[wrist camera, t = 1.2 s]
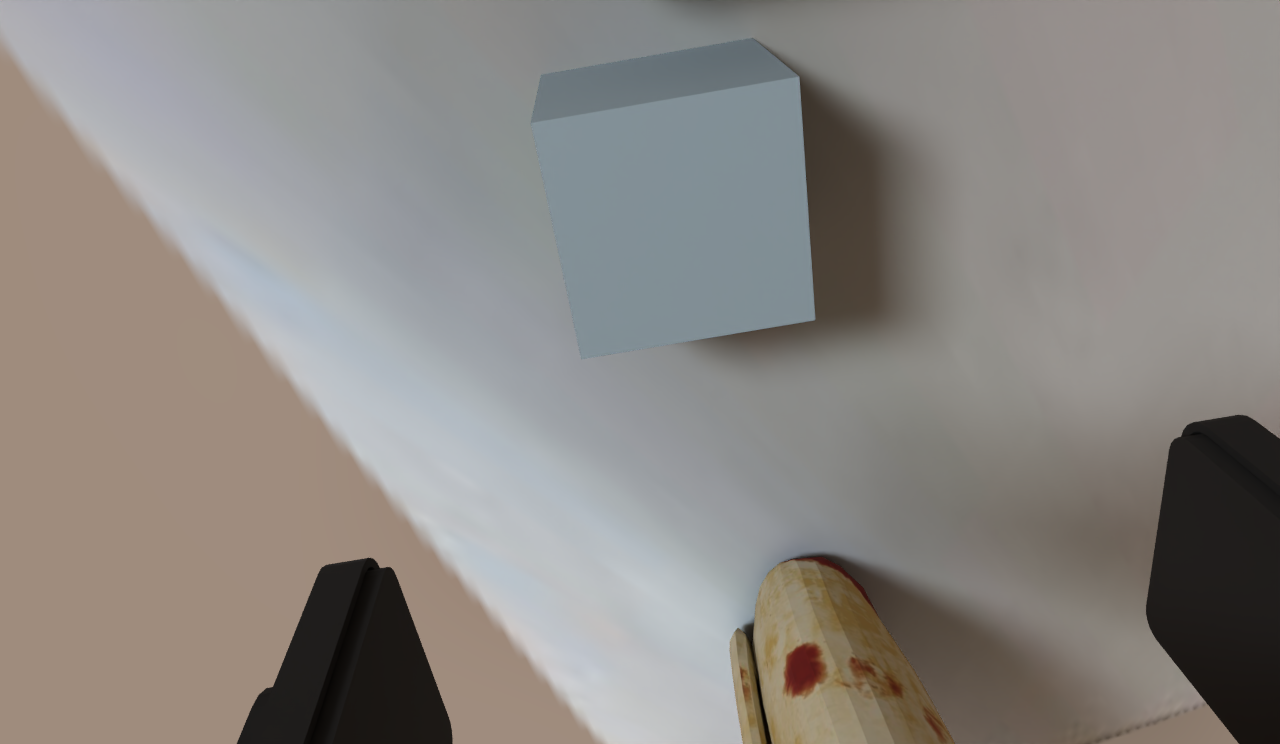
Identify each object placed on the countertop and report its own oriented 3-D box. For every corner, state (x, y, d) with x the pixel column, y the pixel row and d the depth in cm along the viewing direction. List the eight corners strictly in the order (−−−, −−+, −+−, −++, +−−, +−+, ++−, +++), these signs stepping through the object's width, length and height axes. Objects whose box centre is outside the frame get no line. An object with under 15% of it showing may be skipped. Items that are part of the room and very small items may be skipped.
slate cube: (541, 74, 25) (531, 123, 19) (752, 37, 25) (799, 76, 19) (581, 270, 28) (581, 359, 22) (770, 238, 27) (815, 320, 22)
